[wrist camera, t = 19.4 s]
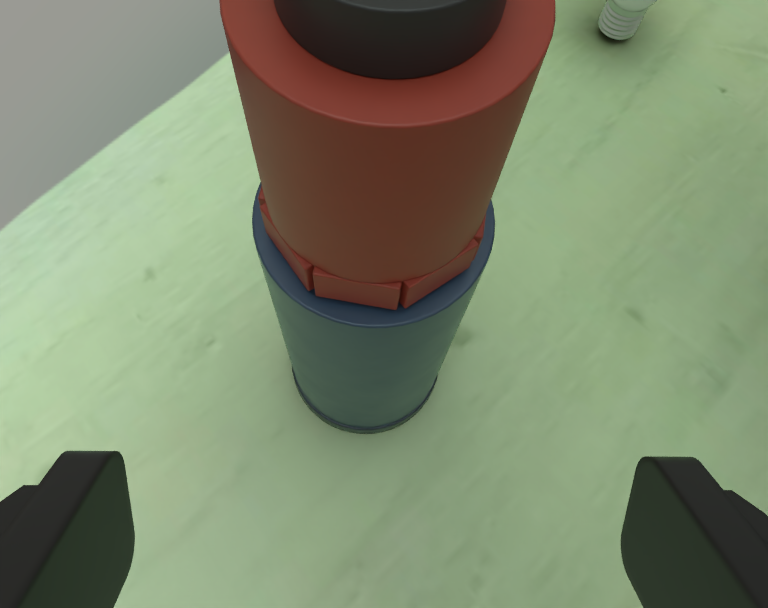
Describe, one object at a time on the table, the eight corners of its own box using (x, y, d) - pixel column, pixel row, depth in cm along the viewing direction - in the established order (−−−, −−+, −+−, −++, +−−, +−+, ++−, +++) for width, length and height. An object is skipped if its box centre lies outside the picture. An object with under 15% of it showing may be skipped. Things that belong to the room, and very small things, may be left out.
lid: (399, 95, 21) (432, -241, 12) (520, 234, 19) (662, -43, 10) (231, 184, 19) (131, -129, 11) (347, 346, 18) (341, 129, 9)
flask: (382, 271, 36) (406, 38, 20) (466, 379, 34) (567, 214, 18) (265, 343, 34) (188, 148, 18) (345, 464, 32) (338, 363, 16)
